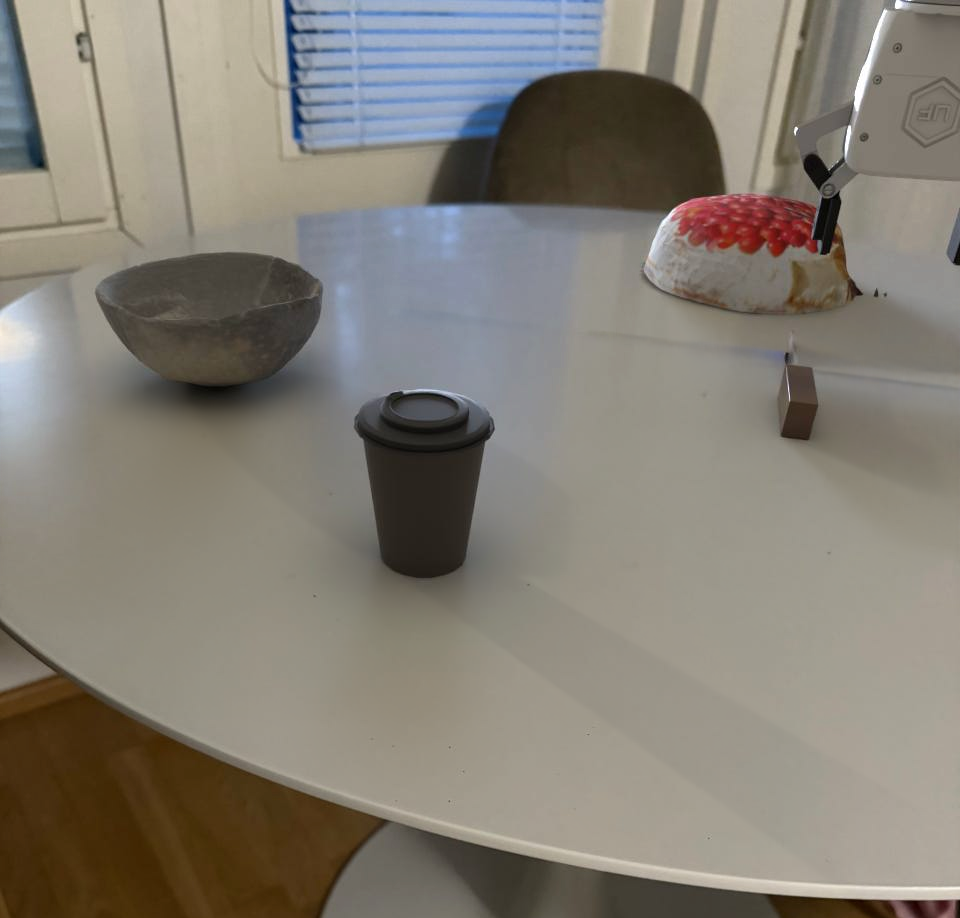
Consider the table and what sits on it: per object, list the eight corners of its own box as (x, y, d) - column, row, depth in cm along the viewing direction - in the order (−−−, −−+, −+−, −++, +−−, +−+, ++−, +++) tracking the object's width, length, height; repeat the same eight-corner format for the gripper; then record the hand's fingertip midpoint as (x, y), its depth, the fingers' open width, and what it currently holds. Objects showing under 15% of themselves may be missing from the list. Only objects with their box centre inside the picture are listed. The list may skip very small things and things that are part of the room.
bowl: (206, 322, 91) (195, 233, 86) (365, 359, 85) (363, 267, 80) (64, 385, 78) (41, 285, 73) (240, 435, 72) (228, 330, 67)
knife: (808, 440, 76) (818, 404, 74) (780, 436, 76) (789, 400, 74) (797, 359, 90) (805, 327, 88) (774, 356, 90) (781, 325, 88)
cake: (907, 327, 98) (939, 225, 92) (682, 331, 95) (700, 224, 89) (810, 261, 116) (832, 172, 110) (617, 262, 113) (629, 169, 106)
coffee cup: (371, 516, 63) (367, 371, 57) (492, 526, 63) (501, 381, 57) (346, 583, 57) (338, 428, 51) (481, 595, 57) (489, 440, 51)
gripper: (828, -16, 61) (773, 260, 72) (1120, -6, 59) (1018, 279, 69) (820, -22, 67) (770, 234, 77) (1085, -13, 64) (997, 251, 75)
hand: (887, 255), depth 73 cm, fingers open, 9 cm apart
